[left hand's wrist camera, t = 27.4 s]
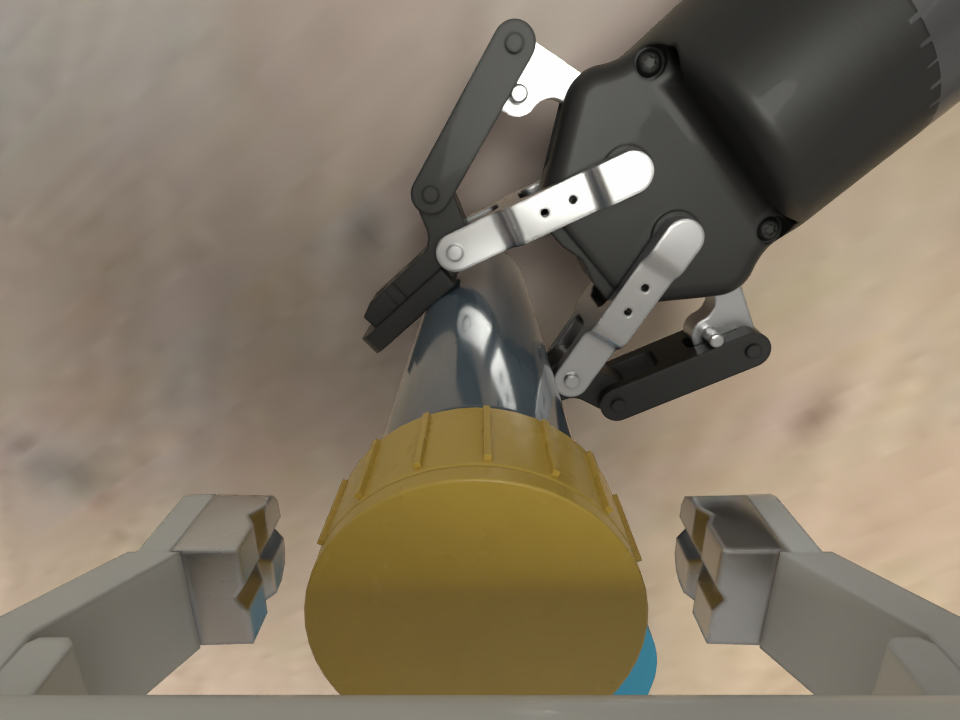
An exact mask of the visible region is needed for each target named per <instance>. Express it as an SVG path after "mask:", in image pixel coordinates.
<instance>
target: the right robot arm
mask: <svg viewBox="0 0 960 720" xmlns="http://www.w3.org/2000/svg"><path fill="white" fill-rule="evenodd" d="M546 99H551V100H555V101H557V102H559V107H558V111H557V115H556V119H555V124H554V128H553V132H552V136H551V140H550V144H549V148H548V153H547V157H546V161H545V165H544V169H543V173H542V177H541V179H540V180H538V181H536V182H534V183H532V184H530V185H528V186H526V187H524V188H522V189H519V190H517V191H515V192H513V193H511V194H509V195H507V196H505V197H503V198H501V199H500V200H498V201H497V202H495V203H494V204H492V205H490V206H488V207H486V208H484V209H481V210H479V211H477V212H475V213H473V214H471V215H469V216H467V217H466V216H465V214H464V211H463V209H462V206H461V204H460V201H459V199H458V196H457V194H456V190H457V188H458V186H459V185H460V183H461V181H462V179H463V178H464V176H465V174H466V172H467V171H468V169H469V167H470V165H471V163H472V162H473V160H474V158H475V156H476V155H477V153H478V151H479V149H480V148H481V146H482V144H483V142H484V140H485V139H486V137H487V135H488V133H489V132H490V130H491V128H492V126H493V125H494V123H495V121H496V119H497V117H498V116H499V114H500V112H503V113H504V114H506V115H508V116H510V117H515V118H516V117H522V116H524V115H526V114H528V113H529V112H530V111H531V110H532V109H533V108H534V107H535V106H536V104H537V103H539V102H540V101H542V100H546ZM959 101H960V0H682V1H681V2H680V3H679V4H678V5H677V6H676V7H675V8H674V9H673V10H672V11H671V12H669V13H668V14H667V15H666V16H665V17H664V18H663V19H662V20H661V21H660V22H659V23H658V24H657V25H655V26H654V27H653V28H652V29H651V30H650V31H649V32H648V33H647V34H646V35H645V36H644V37H643V38H641V39H640V40H639V41H638V42H637V43H636V44H635V45H634V46H633V47H632V48H631V49H630V50H628V51H627V52H626V53H625V54H624V55H622V56H621V57H620V58H619V59H617V60H615V61H612V62H609V63H606V64H602V65H597V66H594V67H591V68H589V69H587V70H585V71H583V72H582V73H580V72H579V71H577V70H576V69H574V68H573V67H571V66H570V65H568V64H567V63H565V62H564V61H563V60H561V59H560V58H558V57H557V56H555V55H554V54H552V53H551V52H550V51H548V50H547V49H545V48H544V47H542V46H541V45H539V44H538V43H536V38H535V34H534V32H533V29H532V28H531V27H530V25H529V24H528V23H526V22H525V21H523V20H520V19H509V20H507V21H505V22H503V23H502V24H501V25H500V26H499V27H498V28H497V30H496V32H495V33H494V35H493V37H492V39H491V41H490V43H489V45H488V46H487V48H486V50H485V52H484V54H483V56H482V58H481V59H480V61H479V63H478V65H477V67H476V69H475V71H474V72H473V74H472V76H471V78H470V80H469V82H468V83H467V85H466V87H465V89H464V91H463V93H462V95H461V96H460V98H459V100H458V102H457V104H456V106H455V108H454V109H453V111H452V113H451V115H450V117H449V119H448V121H447V122H446V124H445V126H444V128H443V130H442V132H441V134H440V135H439V137H438V139H437V141H436V143H435V145H434V147H433V148H432V150H431V152H430V154H429V156H428V158H427V160H426V161H425V163H424V165H423V167H422V169H421V171H420V173H419V174H418V176H417V178H416V180H415V182H414V184H413V186H412V189H411V199H412V202H413V204H414V206H415V207H416V208H417V209H418V210H419V212H420V215H421V217H422V220H423V222H424V224H425V227H426V229H427V232H428V245H427V247H426V248H425V249H424V250H423V251H422V252H420V253H419V254H418V255H417V256H416V257H415V258H414V259H413V260H412V261H411V262H410V263H409V264H407V265H406V266H405V267H404V268H403V269H402V270H401V271H400V272H399V273H398V274H397V275H396V276H394V277H393V278H392V279H391V280H390V281H389V282H388V283H387V284H386V285H385V286H384V287H383V288H381V289H380V290H379V291H378V292H377V293H376V295H375V296H374V298H373V299H372V301H371V303H370V305H369V307H368V309H367V311H366V314H365V316H364V318H365V319H366V320H367V321H368V322H369V323H370V324H371V325H370V327H369V328H368V330H367V332H366V333H365V335H364V337H363V338H362V339H363V340H364V341H365V342H366V343H367V344H368V345H369V346H370V347H371V348H372V349H373V350H374V351H375V352H376V353H379V352H380V351H382V350H383V349H384V348H385V347H386V346H388V345H389V344H390V343H391V342H392V341H393V340H394V339H395V338H397V337H398V336H399V335H400V334H401V333H402V332H403V331H404V330H406V329H407V328H408V327H409V326H410V325H411V324H412V323H413V322H415V321H416V320H417V319H418V318H419V317H420V316H421V315H422V314H424V313H425V312H426V311H427V310H428V309H429V308H430V307H431V306H432V305H433V304H434V303H435V302H436V301H438V300H439V299H440V298H441V297H443V296H444V295H445V294H446V293H447V292H448V291H449V290H450V289H452V288H453V287H454V286H455V285H456V280H457V274H458V273H459V272H460V271H462V270H464V269H467V268H469V267H471V266H473V265H475V264H477V263H479V262H482V261H484V260H486V259H488V258H490V257H492V256H494V255H497V254H499V253H501V252H503V251H505V250H507V249H510V248H513V247H518V246H522V245H524V244H527V243H529V242H531V241H533V240H536V239H538V238H540V237H542V236H544V235H546V234H548V233H551V234H552V235H553V236H554V238H555V239H556V240H557V241H558V242H559V243H560V245H561V246H562V247H564V248H565V249H567V250H568V251H570V252H571V253H573V254H574V255H575V256H577V258H578V260H579V263H580V265H581V267H582V269H583V271H584V272H585V273H586V275H587V276H588V277H589V279H590V280H591V282H590V283H589V285H588V286H587V288H586V289H585V291H584V292H583V294H582V295H581V296H580V298H579V300H578V302H577V304H576V307H575V311H574V313H573V315H572V316H571V318H570V319H569V320H568V322H567V323H566V325H565V326H564V328H563V329H562V331H561V332H560V333H559V335H558V336H557V338H556V339H555V341H554V342H553V344H552V345H551V346H550V348H549V350H548V352H547V356H548V359H549V362H550V365H551V369H552V372H553V375H554V379H555V382H556V385H557V388H558V392H559V395H560V398H561V401H562V400H564V399H567V398H578V399H581V400H584V401H586V402H588V403H590V404H592V405H594V406H596V407H598V408H600V409H601V411H602V413H603V415H604V416H605V417H606V418H608V419H610V420H614V421H619V420H623V419H626V418H629V417H631V416H634V415H636V414H639V413H641V412H644V411H646V410H649V409H651V408H654V407H656V406H659V405H661V404H664V403H666V402H669V401H671V400H674V399H676V398H679V397H681V396H684V395H686V394H689V393H691V392H694V391H696V390H699V389H701V388H704V387H706V386H709V385H711V384H714V383H716V382H719V381H721V380H724V379H726V378H729V377H731V376H734V375H736V374H739V373H741V372H744V371H746V370H749V369H751V368H754V367H756V366H758V365H760V364H762V363H763V362H764V361H766V359H767V358H768V357H769V355H770V352H771V344H770V341H769V339H768V338H767V337H766V336H764V335H763V334H761V333H760V332H759V331H758V330H757V329H756V328H755V327H754V326H753V323H752V320H751V316H750V313H749V310H748V307H747V304H746V300H745V297H744V294H743V291H742V288H741V285H742V284H743V283H744V282H745V281H746V280H747V279H748V277H749V276H750V274H751V272H752V270H753V268H754V266H755V264H756V263H757V261H758V259H759V258H760V256H761V255H762V253H763V252H764V251H765V250H766V249H767V248H768V247H769V246H770V245H771V244H772V243H773V242H775V241H776V240H778V239H779V238H781V237H782V236H784V235H786V234H787V233H789V232H791V231H792V230H794V229H795V228H797V227H798V226H800V225H801V224H803V223H804V222H806V221H807V220H808V219H809V218H811V217H812V216H813V215H814V214H816V213H817V212H818V211H820V210H821V209H822V208H823V207H825V206H826V205H827V204H829V203H830V202H831V201H832V200H834V199H835V198H836V197H837V196H839V195H840V194H841V193H843V192H844V191H845V190H846V189H848V188H849V187H850V186H852V185H853V184H854V183H855V182H857V181H858V180H859V179H861V178H862V177H863V176H864V175H866V174H867V173H868V172H869V171H871V170H872V169H873V168H875V167H876V166H877V165H878V164H880V163H881V162H882V161H884V160H885V159H886V158H888V157H889V156H890V155H892V154H893V153H894V152H895V151H897V150H898V149H899V148H901V147H902V146H903V145H904V144H906V143H907V142H908V141H910V140H911V139H912V138H913V137H915V136H916V135H917V134H919V133H920V132H921V131H922V130H923V129H925V128H926V127H927V126H928V125H930V124H931V123H932V122H933V121H935V120H936V119H937V118H939V117H940V116H941V115H943V114H944V113H945V112H946V111H948V110H949V109H950V108H952V107H953V106H954V105H955V104H957V103H958V102H959ZM700 297H705V301H704V303H703V305H702V306H701V307H700V308H699V309H698V310H697V311H695V312H694V313H692V314H691V315H689V316H688V317H687V319H686V320H685V323H684V327H683V330H682V331H679V332H677V333H675V334H672V335H670V336H667V337H665V338H663V339H660V340H658V341H655V342H653V343H651V344H648V345H646V346H644V347H641V348H639V349H636V350H634V351H632V352H629V353H627V354H624V355H622V356H620V357H617V358H615V359H612V360H610V361H608V362H606V361H607V360H608V359H609V357H610V356H611V355H612V353H613V352H614V351H615V350H617V349H621V348H622V347H624V346H625V345H626V344H627V342H628V341H629V340H630V339H631V337H632V336H633V334H634V333H635V332H636V330H637V329H638V328H639V326H640V325H641V324H642V322H643V321H644V320H645V318H646V317H647V316H648V314H649V313H650V311H651V310H652V309H653V307H654V306H655V305H656V303H657V302H661V301H670V300H680V299H690V298H700ZM626 308H628V309H627V310H626V311H624V310H625V309H626Z"/></svg>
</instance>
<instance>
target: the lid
mask: <svg viewBox="0 0 960 720" xmlns="http://www.w3.org/2000/svg"><path fill="white" fill-rule="evenodd" d="M317 544H319V545H322V546H321V549H320V552H319V554H318V557H317V559H316V562H315V565H314V567H313V570H312V572H311V576H310V579H309V582H308V586H307V589H306V597H305V605H304V614H305V628H306V632H307V637H308V641H309V645H310V648H311V650H312V653H313V655H314V658H315V660H316V662H317V664H318V666H319V667H320V669H321V671H322V672H323V674H324V676H325V677H326V678H327V680H328V681H329V682H330V684H331V685H332V686H333V687H334V689H335V690H336V691H337V692H338V693H339V694H340V695H613V694H614V693H615V692H616V691H617V690H618V689H619V687H620V686H621V685H622V683H623V682H624V681H625V680H626V678H627V677H628V676H629V674H630V672H631V670H632V669H633V667H634V665H635V663H636V662H637V660H638V657H639V654H640V652H641V649H642V647H643V644H644V639H645V635H646V630H647V624H648V602H647V594H646V588H645V585H644V582H643V578H642V575H641V572H640V569H639V567H638V564H637V562H639V561H642V560H641V556H640V553H639V551H638V548H637V546H636V543H635V540H634V538H633V535H632V532H631V530H630V527H629V525H628V522H627V519H626V517H625V514H624V512H623V509H622V506H621V504H620V501H619V498H618V496H617V494H615V495H612V493H611V490H610V488H609V486H608V484H607V482H606V480H605V477H604V475H603V473H602V472H601V470H600V469H599V468H598V465H597V463H596V460H595V457H594V454H593V453H592V452H591V451H588V452H586V451H585V450H584V449H583V448H582V447H581V446H580V445H578V444H577V443H576V442H575V441H574V440H572V439H571V438H570V437H569V436H567V435H566V434H564V433H563V432H561V431H559V430H558V429H556V428H554V427H553V426H551V425H549V421H547V420H545V419H542V421H540V420H538V419H535V418H533V417H530V416H527V415H523V414H520V413H517V412H512V411H507V410H501V409H495V408H490V406H488V405H484V406H483V408H478V407H475V408H459V409H452V410H447V411H441V412H437V413H433V414H430V413H429V412H427V413H424V414H423V416H422V417H420V418H418V419H416V420H413V421H411V422H409V423H407V424H405V425H402V426H401V427H399V428H397V429H396V430H394V431H393V432H391V433H389V434H388V435H386V436H385V437H384V438H382V439H381V440H380V441H379V440H378V439H375V440H374V441H373V442H372V445H371V448H370V450H369V451H368V452H367V453H366V454H365V455H364V456H363V458H362V459H361V460H360V461H359V463H358V464H357V466H356V467H355V469H354V470H353V471H352V473H351V475H350V477H349V479H348V481H347V480H345V479H343V480H342V482H341V485H340V487H339V490H338V492H337V495H336V497H335V500H334V502H333V505H332V507H331V510H330V512H329V515H328V517H327V520H326V522H325V525H324V527H323V530H322V532H321V535H320V537H319V540H318V542H317Z"/></svg>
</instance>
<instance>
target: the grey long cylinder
mask: <svg viewBox="0 0 960 720" xmlns="http://www.w3.org/2000/svg"><path fill="white" fill-rule="evenodd" d="M484 405H488V406H490V408H495V409H501V410H507V411H512V412H517V413H520V414H523V415H527V416H530V417H533V418H535V419H538V420H540V421H542V419H545V420H547V421H549V425H551V426H553V427H554V428H556V429H558V430H559V431H561V432H563V433H564V434H566V435H567V436H569V437H570V438H571V439H572V440H573V437H572V434H571V431H570V427H569V424H568V421H567V418H566V414H565V411H564V408H563V405H562V401H561V398H560V395H559V392H558V388H557V385H556V382H555V379H554V375H553V372H552V369H551V365H550V362H549V359H548V356H547V352H546V349H545V346H544V343H543V339H542V336H541V333H540V330H539V326H538V323H537V320H536V317H535V313H534V310H533V307H532V304H531V300H530V297H529V294H528V290H527V287H526V284H525V281H524V277H523V275H522V272H521V270H520V268H519V267H518V265H517V264H516V263H515V261H514V260H513V259H512V258H511V257H510V256H509V255H507V254H506V253H504V252H501V253H499V254H497V255H494V256H492V257H490V258H488V259H486V260H484V261H482V262H479V263H477V264H475V265H473V266H471V267H469V268H467V269H464V270H462V271H460V272H459V273H458V274H457V280H456V285H455V286H454V287H453V288H452V289H450V290H449V291H448V292H447V293H446V294H445V295H444V296H443V297H441V298H440V299H439V300H438V301H436V302H435V303H434V304H433V305H432V306H431V307H430V308H429V309H428V310H427V311H426V312H425V313H424V314H422V317H421V320H420V324H419V327H418V330H417V333H416V336H415V339H414V342H413V345H412V348H411V351H410V354H409V357H408V360H407V363H406V367H405V370H404V373H403V376H402V379H401V382H400V385H399V388H398V391H397V394H396V397H395V400H394V403H393V407H392V410H391V413H390V416H389V419H388V422H387V425H386V428H385V431H384V434H383V437H382V438H384V437H385V436H386V435H388V434H389V433H391V432H393V431H394V430H396V429H397V428H399V427H401V426H402V425H405V424H407V423H409V422H411V421H413V420H416V419H418V418H420V417H422V416H423V414H424V413H427V412H429V413H430V414H433V413H437V412H441V411H447V410H452V409H459V408H475V407H478V408H483V406H484Z"/></svg>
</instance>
